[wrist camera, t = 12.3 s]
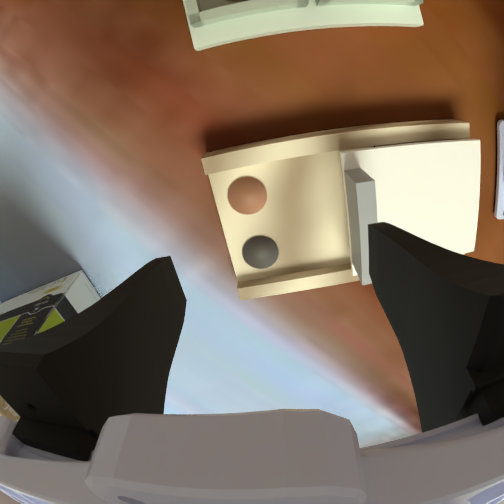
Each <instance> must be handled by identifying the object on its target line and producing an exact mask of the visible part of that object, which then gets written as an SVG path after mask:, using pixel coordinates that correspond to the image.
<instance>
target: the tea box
mask: <svg viewBox="0 0 504 504" xmlns="http://www.w3.org/2000/svg"><path fill="white" fill-rule="evenodd" d="M100 299H101V297H100V296H99V294H98V293H97V291H96V290H95V288H94V287H93V285H92V284H91V282H90V281H89V279H88V278H87V276H86V275H85V273H84V272H83V271H82V270H80V271H78V272H75V273H73V274H70V275H68V276H65V277H63V278H60V279H58V280H56V281H53V282H51V283H48V284H46V285H43V286H41V287H38V288H36V289H34V290H31V291H29V292H26V293H24V294H22V295H19V296H17V297H15V298H12V299H10V300H8V301H5V302H3V303H1V304H0V347H2V346H3V345H6V344H10V343H13V342H16V341H19V340H22V339H25V338H28V337H31V336H33V335H36V334H38V333H41V332H43V331H45V330H47V329H50V328H52V327H54V326H56V325H58V324H60V323H62V322H64V321H65V320H67V319H69V318H71V317H73V316H75V315H77V314H78V313H80V312H82V311H83V310H85V309H86V308H88V307H90V306H91V305H93V304H94V303H96V302H97V301H98V300H100ZM0 416H3V417H6V418H9V419H11V420H13V421H14V422H16V423H17V422H18V420H19V418H20V416H19V415H18V414H17V413H16V412H15V411H14V410H13V409H12V407H11V406H10V405H9V404H8V403H7V402H6V401H5V400H4V399H3V398H2V396H1V395H0Z"/></svg>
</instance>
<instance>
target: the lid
mask: <svg viewBox="0 0 504 504" xmlns="http://www.w3.org/2000/svg"><path fill="white" fill-rule="evenodd" d="M340 159H341V167H342V174H343V183H344V191H345V201H346V210H347V221H348V232H349V245H350V260H351V273H352V275H353V276H356V275H358V277H359V279H360V281H361V284H362V285H366V284H372V281H371V278H370V275H369V243H368V224H373V223H379V222H386V223H389V224H392V225H394V226H396V227H399V228H401V229H403V230H405V231H407V232H409V233H411V234H413V235H415V236H418V237H420V238H422V239H424V240H426V241H428V242H431V243H433V244H435V245H438V246H440V247H443V248H445V249H448V250H450V251H453V252H456V253H459V254H463V253H468V252H472V251H474V247H475V239H476V231H477V221H478V209H479V194H480V140H478V139H460V140H443V141H430V142H418V143H407V144H397V145H387V146H378V147H370V148H362V149H354V150H347V151H340Z"/></svg>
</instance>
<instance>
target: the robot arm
mask: <svg viewBox="0 0 504 504" xmlns="http://www.w3.org/2000/svg"><path fill="white" fill-rule="evenodd" d="M497 146H498V156H497V186H496V201H495V212H494V215H495V217H496V218H497V219H504V213H503V212H504V120H499V121H498V123H497ZM368 243H369V275H370V278H371V281H372V284H373V287H374V290H375V293H376V295H377V297H378V299H379V301H380V303H381V305H382V307H383V309H384V312H385V314H386V316H387V318H388V320H389V322H390V324H391V326H392V328H393V330H394V332H395V334H396V336H397V338H398V340H399V343H400V345H401V348H402V351H403V354H404V357H405V360H406V363H407V367H408V370H409V374H410V377H411V381H412V385H413V389H414V393H415V397H416V402H417V407H418V411H419V416H420V422H421V428H422V433H420V434H416V435H413V436H409V437H406V438H402V439H398V440H394V441H390V442H386V443H382V444H378V445H374V446H369V447H364V448H359V444H358V438H357V434H356V432H355V430H354V428H353V426H352V424H351V422H350V420H348V419H346V418H343V417H340V416H337V415H334V414H331V413H328V412H325V411H322V410H319V409H279V410H269V411H258V412H245V413H227V414H193V415H176V414H163V413H164V403H165V395H166V388H167V381H168V376H169V372H170V368H171V364H172V361H173V357H174V354H175V351H176V347H177V344H178V340H179V337H180V333H181V330H182V326H183V323H184V316H185V309H186V301H187V300H186V298H185V295H184V292H183V290H182V287H181V284H180V282H179V279H178V276H177V273H176V271H175V268H174V265H173V262H172V259H171V256H167V257H161V258H156V259H154V260H152V261H150V262H149V263H147V264H146V265H144V266H143V267H142V268H140V269H139V270H138V271H136V272H135V273H134V274H133V275H131V276H130V277H129V278H128V279H126V280H125V281H124V282H122V283H121V284H120V285H119V286H117V287H116V288H115V289H113V290H112V291H111V292H109V293H108V294H107V295H105V296H104V297H103V298H101V299H100V300H98V301H97V302H96V303H94V304H93V305H91V306H90V307H88V308H86V309H85V310H83V311H82V312H80V313H78V314H77V315H75V316H73V317H71V318H69V319H67V320H65V321H64V322H62V323H60V324H58V325H56V326H54V327H52V328H50V329H47V330H45V331H43V332H41V333H38V334H36V335H33V336H31V337H28V338H25V339H22V340H19V341H16V342H13V343H10V344H6V345H3V346H2V347H0V395H1V396H2V398H3V399H4V400H5V401H6V402H7V403H8V404H9V405H10V406H11V407H12V409H13V410H14V411H15V412H16V413H17V414H18V415H19V416H20V418H19V420H18V422H17V423H16V422H14V421H13V420H11V419H9V418H6V417H3V416H0V490H1V491H2V492H4V493H5V494H7V495H8V496H10V497H11V498H13V499H14V500H16V501H18V502H20V503H22V504H497V503H499V502H501V501H503V500H504V265H503V264H497V263H492V262H488V261H484V260H479V259H476V258H472V257H468V256H465V255H462V254H459V253H456V252H453V251H450V250H448V249H445V248H443V247H440V246H438V245H435V244H433V243H431V242H428V241H426V240H424V239H422V238H420V237H418V236H415V235H413V234H411V233H409V232H407V231H405V230H403V229H401V228H399V227H396V226H394V225H392V224H389V223H386V222H379V223H373V224H368Z"/></svg>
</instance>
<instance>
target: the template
mask: <svg viewBox="0 0 504 504" xmlns="http://www.w3.org/2000/svg"><path fill="white" fill-rule="evenodd" d="M459 138H470V131H469V123H467V122H464V121H460V120H456V119H446V120H424V121H408V122H395V123H384V124H373V125H364V126H355V127H347V128H339V129H331V130H324V131H317V132H311V133H304V134H298V135H292V136H286V137H280V138H275V139H269V140H264V141H259V142H254V143H249V144H244V145H239V146H234V147H230V148H225V149H221V150H216V151H212V152H208V153H206V154H205V155H204V156H203V157H202V158H201V160H202V164H203V168H204V172H205V175H209V179H210V182H211V186H212V190H213V194H214V197H215V201H216V205H217V208H218V212H219V216H220V220H221V223H222V227H223V230H224V234H225V238H226V241H227V245H228V249H229V252H230V256H231V259H232V263H233V266H234V270H235V274H236V277H237V281H238V286H237V290H238V293H239V297H240V300H245V299H252V298H258V297H265V296H271V295H278V294H284V293H290V292H296V291H302V290H308V289H314V288H319V287H325V286H331V285H336V284H342V283H347V282H352V281H358V280H360V279H359V277H358V275H356V276H353V275H352V273H351V260H350V245H349V232H348V221H347V210H346V201H345V191H344V183H343V174H342V167H341V159H340V151H347V150H354V149H362V148H370V147H371V146H377V145H386V144H396V143H406V142H417V141H429V140H443V139H459ZM464 254H465V253H463V254H462V255H464Z"/></svg>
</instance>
